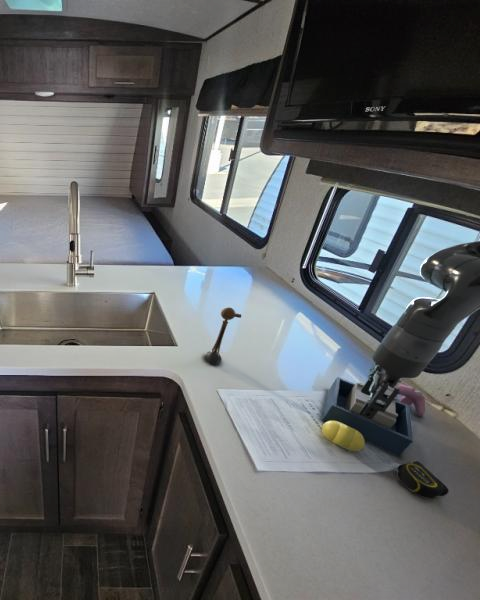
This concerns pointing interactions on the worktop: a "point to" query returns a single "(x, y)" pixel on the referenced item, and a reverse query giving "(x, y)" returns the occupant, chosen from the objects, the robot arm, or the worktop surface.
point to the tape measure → (421, 480)
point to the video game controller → (412, 398)
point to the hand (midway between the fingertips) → (365, 404)
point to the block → (359, 399)
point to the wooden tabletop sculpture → (220, 337)
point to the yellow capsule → (343, 435)
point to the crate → (371, 431)
